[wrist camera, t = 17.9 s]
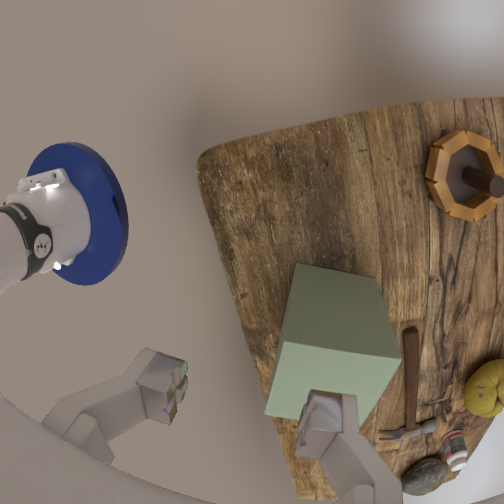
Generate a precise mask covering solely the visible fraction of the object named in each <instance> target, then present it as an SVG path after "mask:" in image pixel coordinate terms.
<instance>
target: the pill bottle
mask: <svg viewBox="0 0 504 504" xmlns="http://www.w3.org/2000/svg"><path fill="white" fill-rule="evenodd" d="M442 442H443V447H444V452H445V456H446V461H447V463H448V464H451V465H450V468H451V471H457V470H459V469H461V468H463V467H464V466H465V465H466V464H467V461H466V456H467V449H466V445H465V442H464V438H463V434H462V431H460V430H455V431H452V432H450V433H448V434H447V435H445V436H444V437H443V439H442Z"/></svg>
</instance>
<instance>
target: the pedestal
mask: <svg viewBox="0 0 504 504" xmlns="http://www.w3.org/2000/svg"><path fill="white" fill-rule="evenodd" d="M401 361H402V356H401V353H400V350H399V346H398V343H397V340H396V336H395V333H394V330H393V327H392V324H391V321H390V318H389V315H388V312H387V309H386V306H385V303H384V300H383V297H382V294H381V292H380V289H379V286H378V283H377V281H376V278H372V277H367V276H362V275H357V274H352V273H347V272H342V271H337V270H331V269H326V268H321V267H316V266H311V265H306V264H301V263H296V265H295V270H294V274H293V279H292V284H291V288H290V293H289V297H288V302H287V306H286V310H285V315H284V319H283V323H282V328H281V333H280V338H279V343H278V348H277V353H276V358H275V363H274V368H273V373H272V378H271V383H270V388H269V392H268V397H267V402H266V406H265V411H264V414H266V415H271V416H277V417H282V418H288V419H294V420H299V418H300V414H301V411H302V408H303V406H304V404H305V403H307V396H308V394H309V392H310V390H311V389H314V390H321V391H329V392H337V393H344V394H352V395H356V397H357V405H358V419H359V427H360V426H361V425H362V423H363V422H364V421H365V419H366V418H367V416H368V415H369V413H370V412H371V410H372V409H373V407H374V406H375V404H376V403H377V401H378V400H379V398H380V396H381V395H382V393H383V392H384V390H385V388H386V387H387V385H388V383H389V382H390V380H391V378H392V377H393V375H394V373H395V372H396V370H397V368H398V366H399V364H400V363H401Z"/></svg>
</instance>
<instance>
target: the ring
mask: <svg viewBox="0 0 504 504" xmlns="http://www.w3.org/2000/svg"><path fill="white" fill-rule="evenodd" d="M433 145H434V147H435V148H434V147H431V148H430V153H429V159H428V164H427V169H426V173H425V177H427V178H429V179H427V180H426V183H427V185H428V187H429V189H430V191H431V193H432V195H433V197H434V199H435V202H436V204H437V206H438V207H439V208H441V210H443V211H444V212H446V213H447V214H448V215H450V216H453V217H457V218H460V219H463V220H466V221H469V222H473V220H474V221H475V222H476V221H478V220H479V219H481V218H482V217H483V216H485V215H486V214H487V213H489V212H490V211H491V210H493V209H494V208H495V207H496V205H495V203H497V204H498V202H499V198H495V197H493V196H491V195H488V194H486V193H484V192H482V191H480V193H478V194H477V195H475V196H474V197H473V198H471V199H470V200H468V201H467V202H466V203H461V202H458V201H455V200H454V198H453V196H452V194H451V192H450V190H449V187H448V185H447V183H446V181H445V180H446V176H447V171H448V166H449V161H450V156H451V155H453V154H454V153H456V152H457V151H459V150H460V149H462V148H463V147H464V146H467V147H469V148H472V149H474V150H476V152H477V154H478V156H479V158H480V161H481V163H482V165H483V168H484V170H485V171H487V172H490V173H493V174H496V175H499V176H501V177H502V178H503V179H504V174H501V173H502V172H504V169H503V166H502V163H501V161H500V158H499V156H498V153H497V151H496V149H495V146H494V144H492V143H491V140H489V139H487V138H484V137H482V136H480V135H478V134H476V133H473V132H471V131H469V130H453V131H451V132H450V133H448V134H447V135H445V136H444V137H442V138H441V139H439V140H437V141H436V142H434V143H433Z"/></svg>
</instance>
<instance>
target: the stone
mask: <svg viewBox="0 0 504 504" xmlns="http://www.w3.org/2000/svg"><path fill="white" fill-rule="evenodd" d="M447 467H448V464H447V463H446V462H445V461H441V460H438V459H435V458H427V459H424V460H421V461H420V462H419V463H418V464H417V465H416V466H415V467H414V468H413V469H411V470H410V471H408V472H407V473H406V474H405V475H404V476H403V478H402V479H401V482H402V491H403V492H405V493H407V494H409V495H414V496H421V495H425V494H427V493H429V492H431V491H434V490H435V489H437V488H438V487H439V486H440V485H441V484H442V483H443V481H444V478H445V476H446V473H447V471H448V468H447Z"/></svg>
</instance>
